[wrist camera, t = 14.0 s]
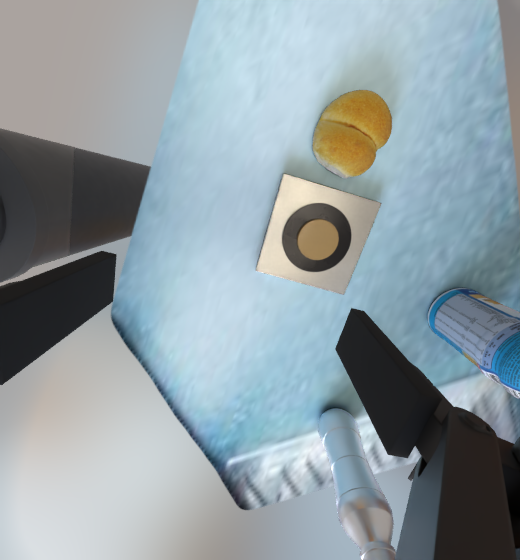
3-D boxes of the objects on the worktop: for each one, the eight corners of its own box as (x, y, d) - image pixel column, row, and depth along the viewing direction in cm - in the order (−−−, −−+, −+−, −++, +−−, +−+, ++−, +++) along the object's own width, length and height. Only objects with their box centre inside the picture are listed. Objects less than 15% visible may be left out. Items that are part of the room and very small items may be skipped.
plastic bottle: (339, 436, 47) (392, 601, 28) (308, 422, 46) (340, 582, 27) (360, 412, 45) (431, 569, 26) (328, 396, 44) (377, 549, 25)
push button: (255, 268, 37) (255, 273, 34) (282, 174, 33) (284, 172, 31) (340, 291, 38) (346, 298, 35) (376, 202, 34) (386, 203, 32)
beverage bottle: (423, 292, 38) (584, 389, 19) (483, 280, 38) (710, 368, 19) (425, 341, 41) (567, 469, 22) (481, 331, 40) (678, 454, 21)
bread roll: (397, 118, 31) (416, 108, 27) (353, 187, 34) (365, 186, 30) (341, 78, 30) (353, 61, 26) (299, 152, 32) (304, 147, 29)
